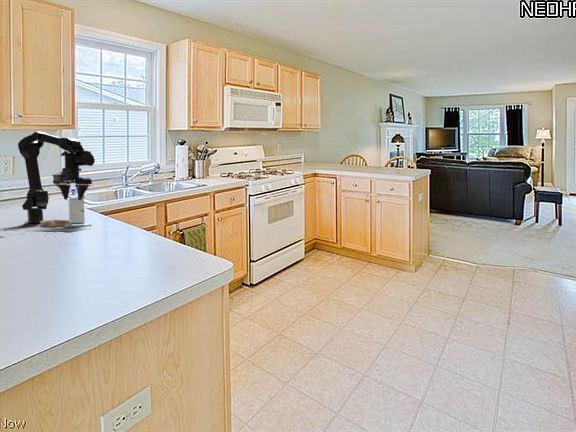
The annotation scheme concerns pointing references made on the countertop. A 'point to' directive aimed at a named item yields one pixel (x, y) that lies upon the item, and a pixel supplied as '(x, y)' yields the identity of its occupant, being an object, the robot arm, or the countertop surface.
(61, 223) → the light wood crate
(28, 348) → the countertop surface
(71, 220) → the skincare box
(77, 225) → the pale blue coaster
